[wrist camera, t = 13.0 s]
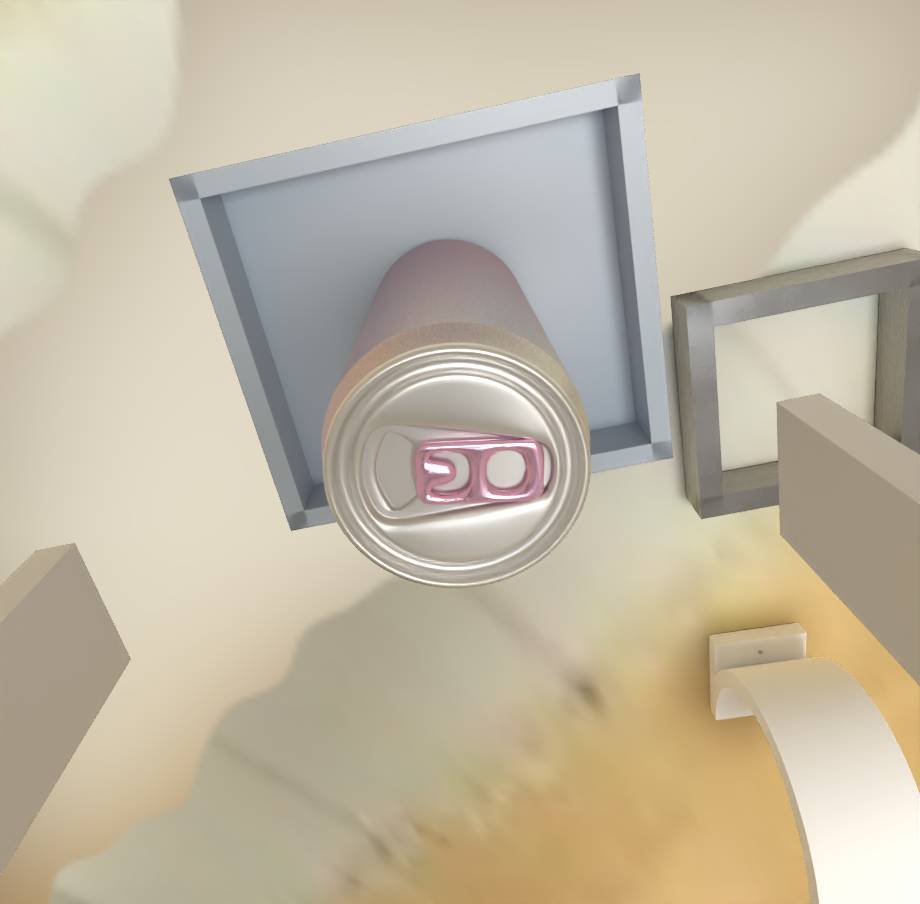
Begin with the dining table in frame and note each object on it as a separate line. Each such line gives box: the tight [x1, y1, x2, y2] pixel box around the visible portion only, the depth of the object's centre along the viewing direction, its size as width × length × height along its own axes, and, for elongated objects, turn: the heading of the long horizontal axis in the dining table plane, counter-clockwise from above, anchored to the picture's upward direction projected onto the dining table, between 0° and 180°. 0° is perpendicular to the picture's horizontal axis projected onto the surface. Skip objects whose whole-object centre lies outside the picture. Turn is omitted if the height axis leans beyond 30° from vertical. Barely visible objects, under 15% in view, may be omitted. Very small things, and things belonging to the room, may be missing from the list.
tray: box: [169, 74, 673, 531], centre depth 27 cm, size 16×14×3 cm
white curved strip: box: [709, 622, 920, 904], centre depth 31 cm, size 5×6×12 cm
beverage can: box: [321, 240, 591, 588], centre depth 21 cm, size 6×6×15 cm
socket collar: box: [671, 248, 920, 519], centre depth 30 cm, size 10×10×2 cm
